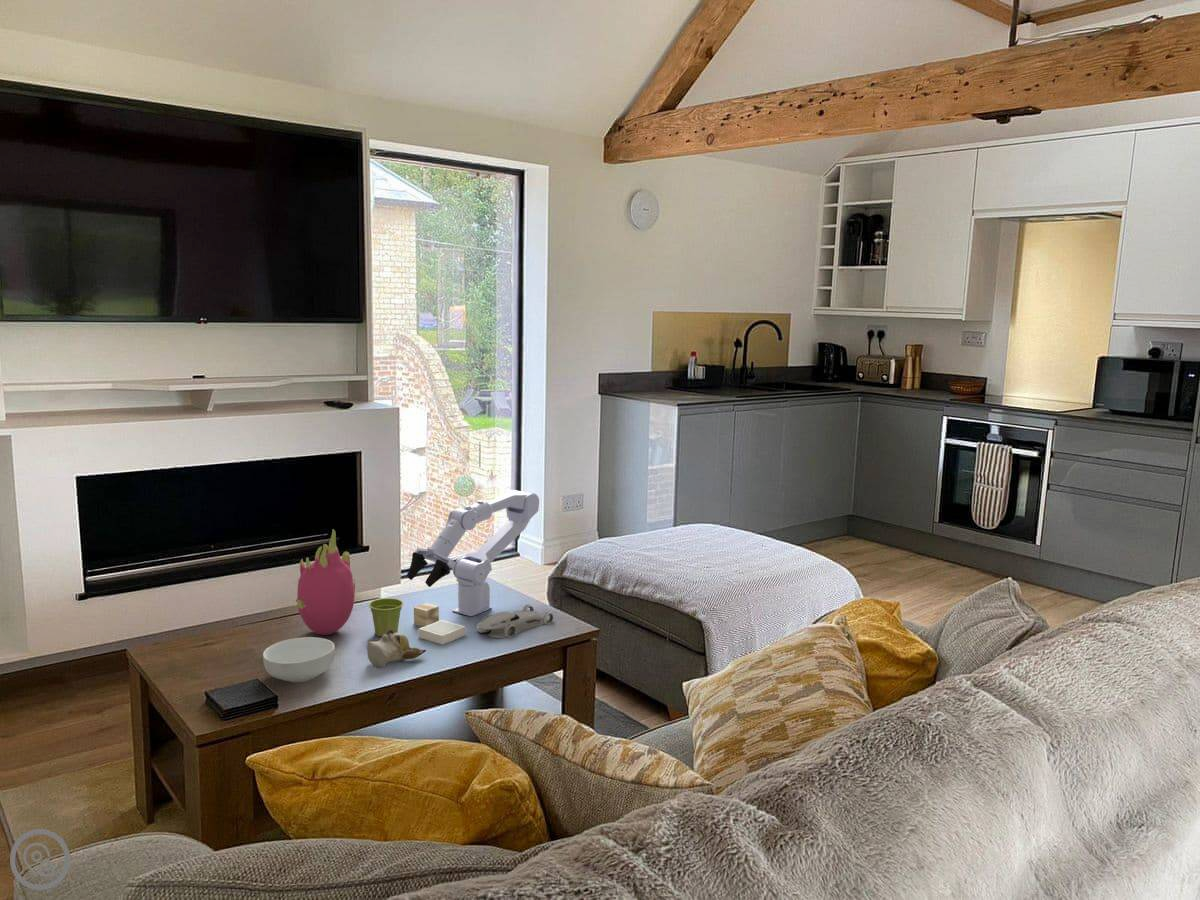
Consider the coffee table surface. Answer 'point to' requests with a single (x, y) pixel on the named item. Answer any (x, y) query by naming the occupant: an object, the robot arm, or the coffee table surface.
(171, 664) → the coffee table surface
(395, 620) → the plant pot
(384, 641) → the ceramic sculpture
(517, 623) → the car model
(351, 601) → the pink dragon fruit
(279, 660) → the cereal bowl
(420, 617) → the maple cube
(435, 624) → the cream square tray
